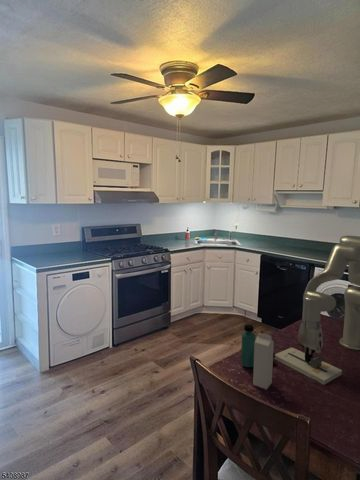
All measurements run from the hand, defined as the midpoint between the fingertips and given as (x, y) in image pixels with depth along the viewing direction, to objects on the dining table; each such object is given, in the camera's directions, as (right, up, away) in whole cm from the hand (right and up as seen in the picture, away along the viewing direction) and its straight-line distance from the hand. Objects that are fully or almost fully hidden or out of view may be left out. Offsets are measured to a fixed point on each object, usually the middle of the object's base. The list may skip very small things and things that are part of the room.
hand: (308, 360), depth 145 cm
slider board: (-1, -3, +1) cm, 3 cm away
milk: (-25, -5, -13) cm, 28 cm away
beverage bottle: (-28, -3, +1) cm, 28 cm away
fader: (+2, -1, -3) cm, 4 cm away
